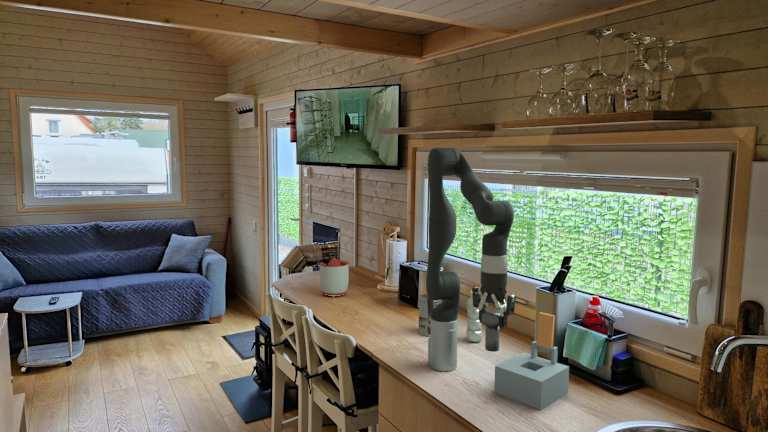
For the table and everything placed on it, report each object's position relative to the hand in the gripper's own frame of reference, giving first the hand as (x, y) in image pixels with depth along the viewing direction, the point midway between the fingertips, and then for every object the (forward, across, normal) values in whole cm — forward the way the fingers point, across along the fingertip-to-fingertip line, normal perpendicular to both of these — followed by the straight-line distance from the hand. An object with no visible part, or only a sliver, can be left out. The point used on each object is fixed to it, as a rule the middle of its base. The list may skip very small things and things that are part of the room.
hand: (492, 325), depth 155 cm
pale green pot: (+24, -129, +41) cm, 137 cm away
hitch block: (+24, +5, +14) cm, 28 cm away
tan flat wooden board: (+6, +5, +21) cm, 22 cm away
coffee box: (+24, -53, +33) cm, 67 cm away
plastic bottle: (+24, -35, +38) cm, 57 cm away
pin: (+7, 0, 0) cm, 7 cm away
